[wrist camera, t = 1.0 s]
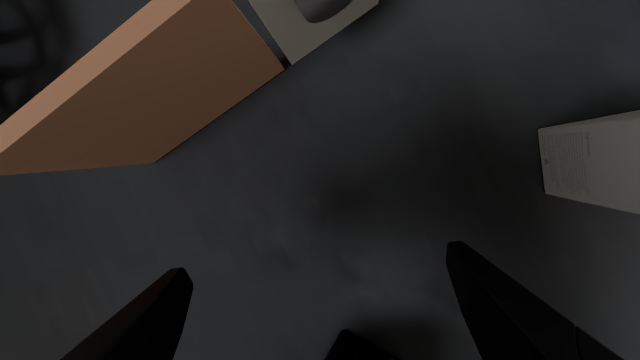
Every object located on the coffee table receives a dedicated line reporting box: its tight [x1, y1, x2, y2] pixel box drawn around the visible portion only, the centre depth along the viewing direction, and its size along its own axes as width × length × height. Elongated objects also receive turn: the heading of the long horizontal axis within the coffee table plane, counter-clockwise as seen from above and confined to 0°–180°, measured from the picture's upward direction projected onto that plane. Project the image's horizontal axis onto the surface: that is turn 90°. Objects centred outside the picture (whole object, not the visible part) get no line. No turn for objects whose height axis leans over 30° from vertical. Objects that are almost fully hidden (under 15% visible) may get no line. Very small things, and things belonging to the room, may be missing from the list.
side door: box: [0, 0, 285, 175], centre depth 19 cm, size 1×15×13 cm, turn 123°
